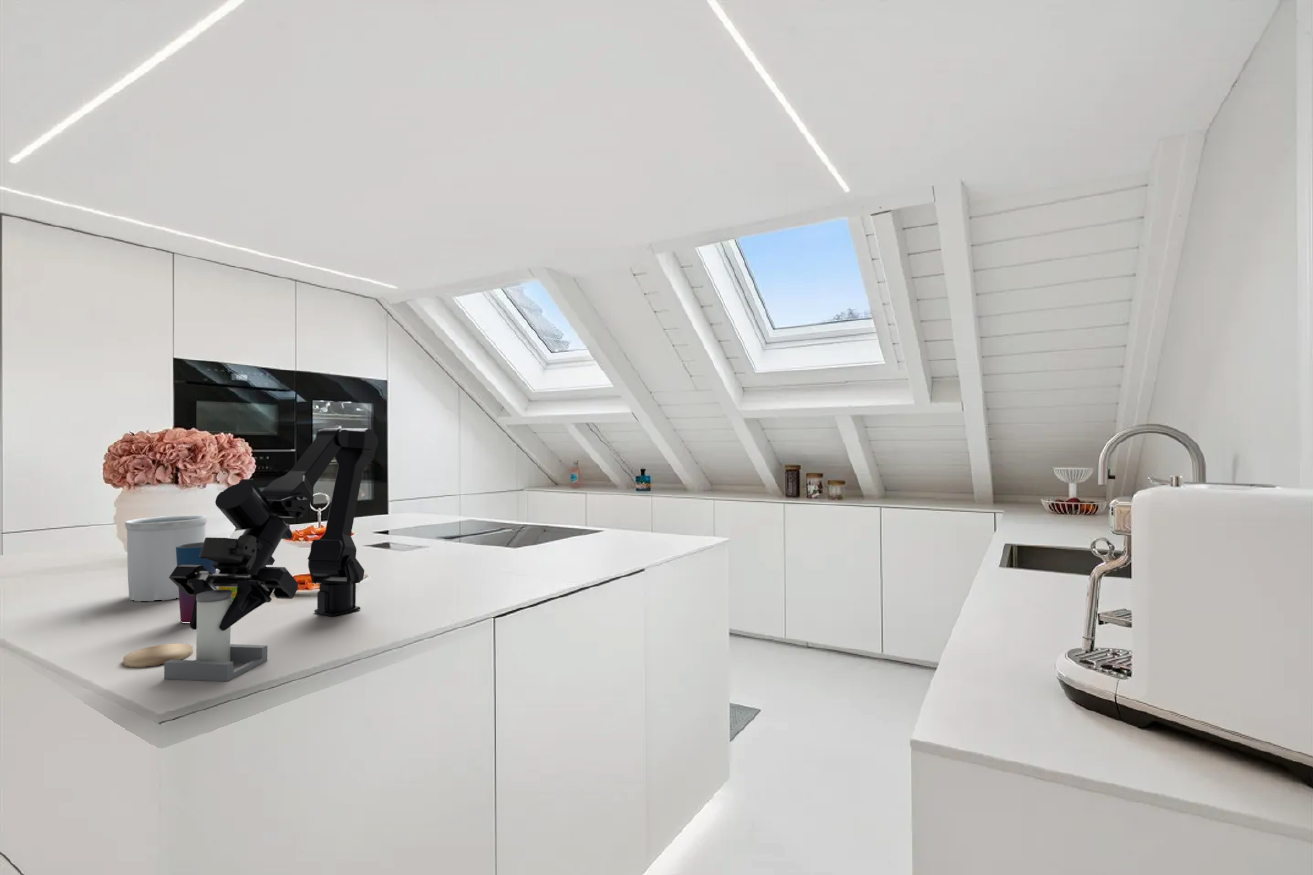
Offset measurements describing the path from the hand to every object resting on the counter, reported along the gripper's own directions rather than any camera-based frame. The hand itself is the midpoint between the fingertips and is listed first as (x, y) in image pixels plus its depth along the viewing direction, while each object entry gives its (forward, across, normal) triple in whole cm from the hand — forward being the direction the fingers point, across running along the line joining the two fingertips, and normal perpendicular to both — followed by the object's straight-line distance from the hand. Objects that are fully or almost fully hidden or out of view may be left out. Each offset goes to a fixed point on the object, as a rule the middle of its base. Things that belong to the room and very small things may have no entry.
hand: (206, 628), depth 98 cm
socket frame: (+4, +1, +6) cm, 7 cm away
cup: (-13, -23, +23) cm, 35 cm away
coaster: (+1, -13, +9) cm, 15 cm away
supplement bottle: (-22, -26, +32) cm, 47 cm away
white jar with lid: (+4, 0, +6) cm, 7 cm away
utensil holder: (-26, -46, +36) cm, 64 cm away
